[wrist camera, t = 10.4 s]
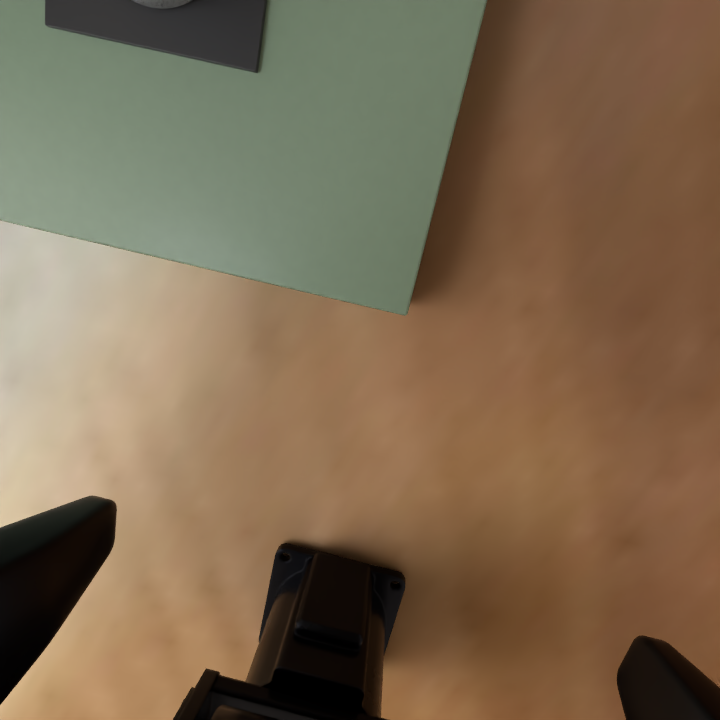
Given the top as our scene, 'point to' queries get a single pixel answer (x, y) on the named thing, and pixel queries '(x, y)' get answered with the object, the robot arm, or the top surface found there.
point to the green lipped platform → (238, 132)
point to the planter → (162, 3)
